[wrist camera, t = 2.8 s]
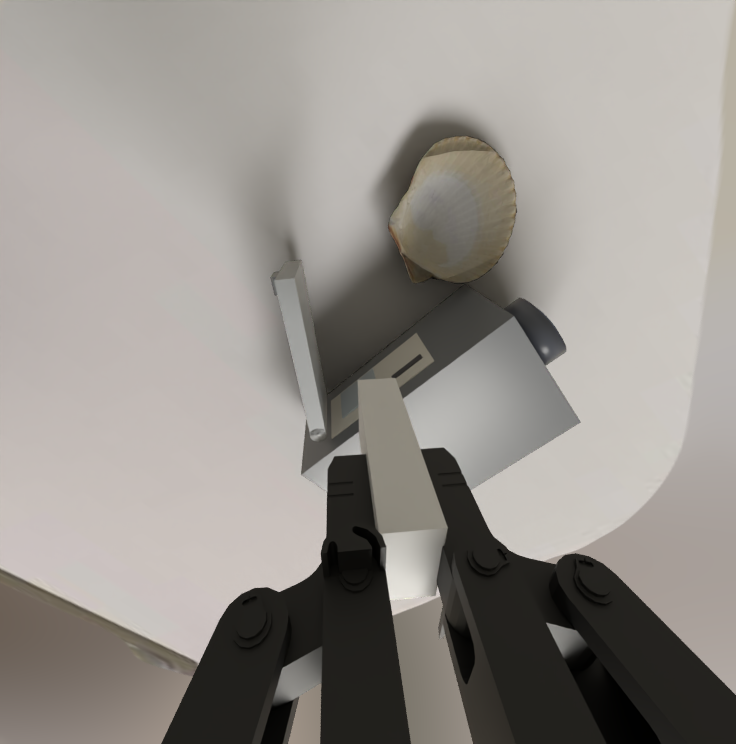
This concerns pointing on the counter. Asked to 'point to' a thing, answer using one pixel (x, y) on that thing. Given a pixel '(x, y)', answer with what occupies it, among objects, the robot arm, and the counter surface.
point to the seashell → (455, 212)
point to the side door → (302, 344)
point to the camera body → (461, 388)
